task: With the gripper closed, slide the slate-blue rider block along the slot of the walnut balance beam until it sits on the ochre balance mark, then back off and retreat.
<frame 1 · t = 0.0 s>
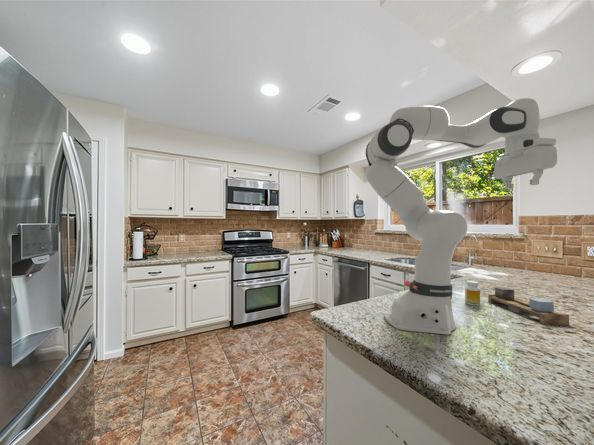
hand: (521, 187, 84), 48 cm above the counter, fingers open, 8 cm apart
beam: (523, 311, 97), on the counter
rider: (541, 306, 90), point 5 cm above the counter, slide at -7.0 cm
supplement bottle: (472, 304, 106), on the counter
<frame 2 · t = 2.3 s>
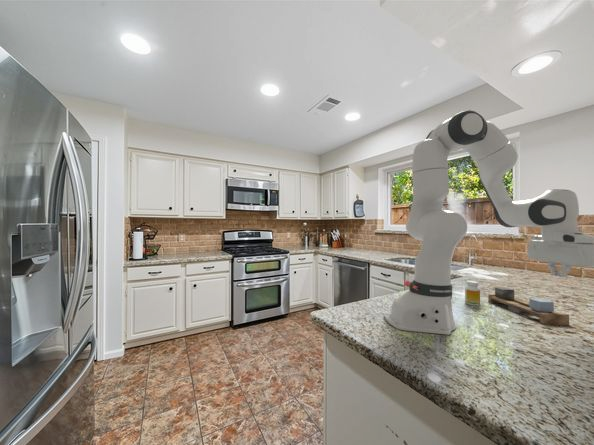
hand: (558, 276, 84), 17 cm above the counter, fingers closed
nothing on the counter moved.
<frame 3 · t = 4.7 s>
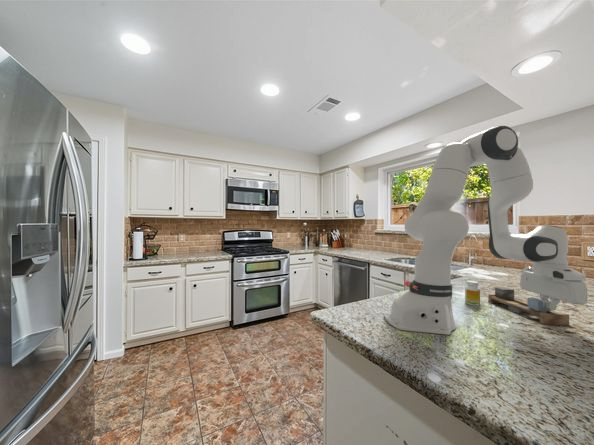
hand: (549, 308, 87), 5 cm above the counter, fingers closed
rider: (539, 305, 90), point 5 cm above the counter, slide at -6.2 cm, touching gripper
everything else where it was.
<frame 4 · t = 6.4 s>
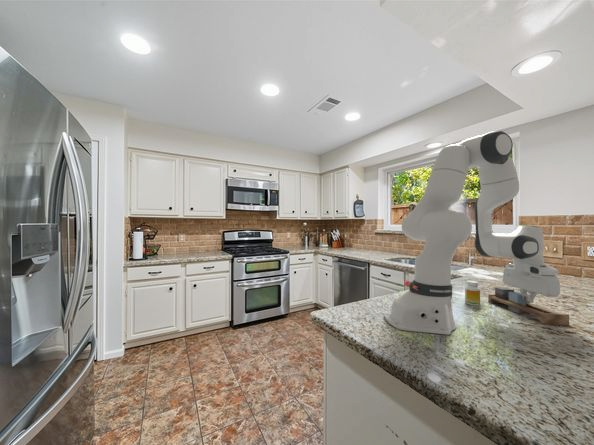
hand: (527, 301, 95), 5 cm above the counter, fingers closed
rider: (519, 298, 99), point 5 cm above the counter, slide at 2.0 cm, touching gripper
everything else where it was.
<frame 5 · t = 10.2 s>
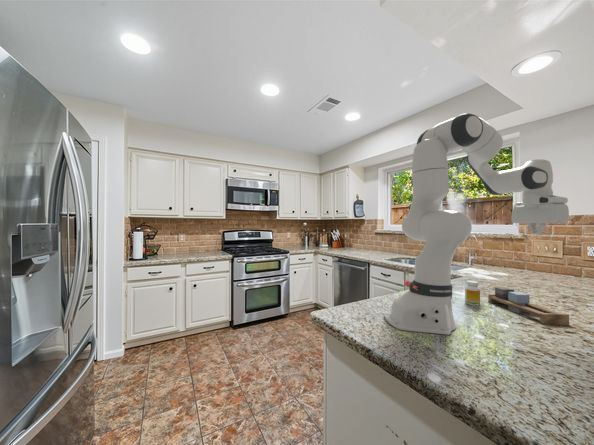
hand: (536, 234, 98), 31 cm above the counter, fingers closed
rider: (518, 298, 99), point 5 cm above the counter, slide at 2.2 cm
everything else where it was.
at the end: rider slide at 2.2 cm; rider touching nothing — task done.
